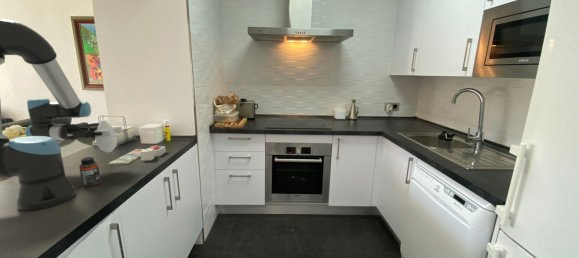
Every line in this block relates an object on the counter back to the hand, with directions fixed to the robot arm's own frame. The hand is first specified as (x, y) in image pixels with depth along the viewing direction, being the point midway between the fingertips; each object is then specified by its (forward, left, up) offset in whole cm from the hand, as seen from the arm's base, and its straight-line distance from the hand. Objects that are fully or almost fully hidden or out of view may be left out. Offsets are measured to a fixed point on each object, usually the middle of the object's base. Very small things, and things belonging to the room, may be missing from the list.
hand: (115, 131), depth 116 cm
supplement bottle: (-18, +1, -19) cm, 26 cm away
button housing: (+21, -6, -18) cm, 29 cm away
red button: (+21, -6, -17) cm, 28 cm away
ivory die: (+13, -6, -18) cm, 23 cm away
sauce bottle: (0, +5, -10) cm, 11 cm away
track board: (+17, +5, -18) cm, 25 cm away
